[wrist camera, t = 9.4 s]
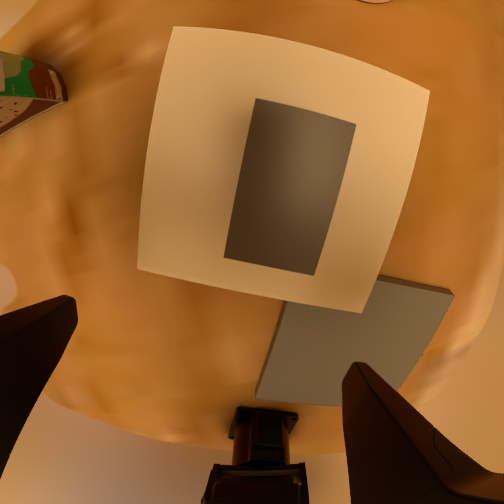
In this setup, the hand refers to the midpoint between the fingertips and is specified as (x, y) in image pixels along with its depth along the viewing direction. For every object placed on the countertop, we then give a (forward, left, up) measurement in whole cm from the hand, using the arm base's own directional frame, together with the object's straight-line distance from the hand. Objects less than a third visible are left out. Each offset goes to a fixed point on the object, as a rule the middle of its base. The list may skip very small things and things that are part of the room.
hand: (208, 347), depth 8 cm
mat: (-9, -11, -12) cm, 18 cm away
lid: (+4, -1, -7) cm, 8 cm away
